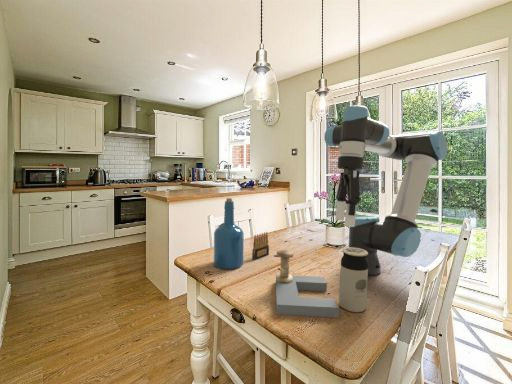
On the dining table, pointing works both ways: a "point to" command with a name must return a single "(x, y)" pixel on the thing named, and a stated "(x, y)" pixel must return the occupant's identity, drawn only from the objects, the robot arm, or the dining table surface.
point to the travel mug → (353, 279)
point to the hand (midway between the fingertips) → (344, 223)
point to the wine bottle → (228, 241)
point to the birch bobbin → (284, 266)
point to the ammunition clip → (260, 246)
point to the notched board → (304, 298)
